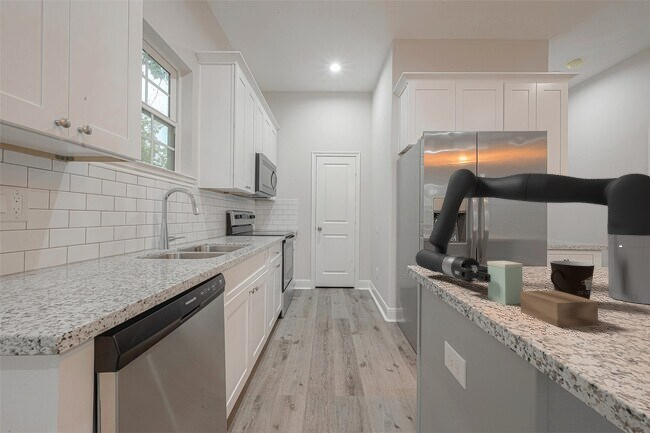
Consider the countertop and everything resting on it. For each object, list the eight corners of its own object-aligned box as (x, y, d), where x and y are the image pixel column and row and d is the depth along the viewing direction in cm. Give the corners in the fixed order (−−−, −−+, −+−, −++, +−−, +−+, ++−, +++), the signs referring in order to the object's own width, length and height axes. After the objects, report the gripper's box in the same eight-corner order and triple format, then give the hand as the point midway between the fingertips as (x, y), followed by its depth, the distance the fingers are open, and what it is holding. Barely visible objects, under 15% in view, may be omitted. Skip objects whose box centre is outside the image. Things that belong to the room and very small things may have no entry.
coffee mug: (576, 297, 75) (575, 260, 75) (605, 307, 67) (604, 266, 67) (531, 296, 76) (530, 260, 77) (553, 305, 68) (553, 265, 68)
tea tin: (504, 297, 75) (504, 260, 76) (523, 303, 70) (523, 263, 70) (487, 298, 74) (487, 261, 74) (505, 304, 69) (504, 264, 69)
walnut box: (556, 311, 64) (555, 290, 64) (598, 326, 55) (597, 301, 55) (520, 313, 63) (520, 291, 63) (557, 328, 54) (557, 303, 55)
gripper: (440, 256, 87) (480, 264, 71) (478, 255, 90) (524, 262, 74) (441, 280, 87) (480, 293, 71) (479, 278, 90) (525, 290, 74)
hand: (503, 277), depth 73 cm, fingers open, 8 cm apart
